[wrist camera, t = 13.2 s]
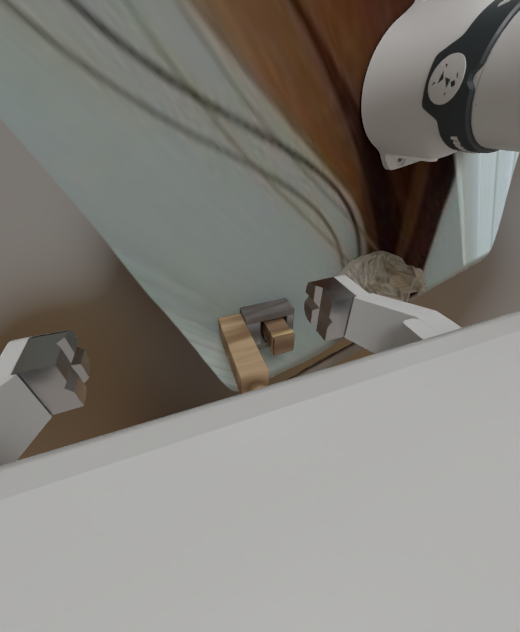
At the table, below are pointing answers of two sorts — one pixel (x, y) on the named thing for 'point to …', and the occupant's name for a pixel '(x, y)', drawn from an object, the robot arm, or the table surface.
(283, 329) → the small wooden block
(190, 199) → the table surface
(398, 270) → the ceramic cottage
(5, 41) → the table surface
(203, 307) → the table surface
